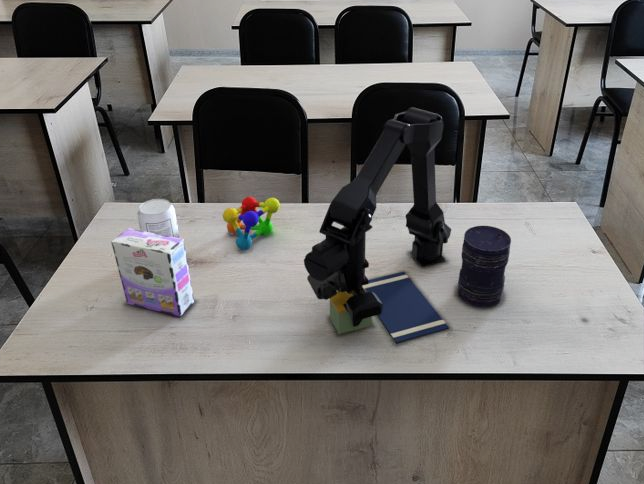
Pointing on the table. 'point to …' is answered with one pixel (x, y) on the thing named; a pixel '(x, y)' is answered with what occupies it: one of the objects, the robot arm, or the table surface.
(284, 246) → the table surface
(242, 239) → the molecular model
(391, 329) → the tea towel
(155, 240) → the candy box
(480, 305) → the storage jar
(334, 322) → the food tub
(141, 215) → the supplement can
